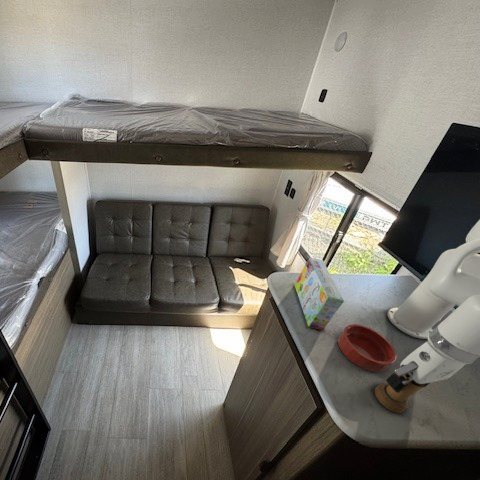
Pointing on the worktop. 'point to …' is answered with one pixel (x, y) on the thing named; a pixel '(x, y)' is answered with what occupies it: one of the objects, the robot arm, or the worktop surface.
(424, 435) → the worktop surface
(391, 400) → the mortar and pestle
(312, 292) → the snack box
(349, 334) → the bowl
